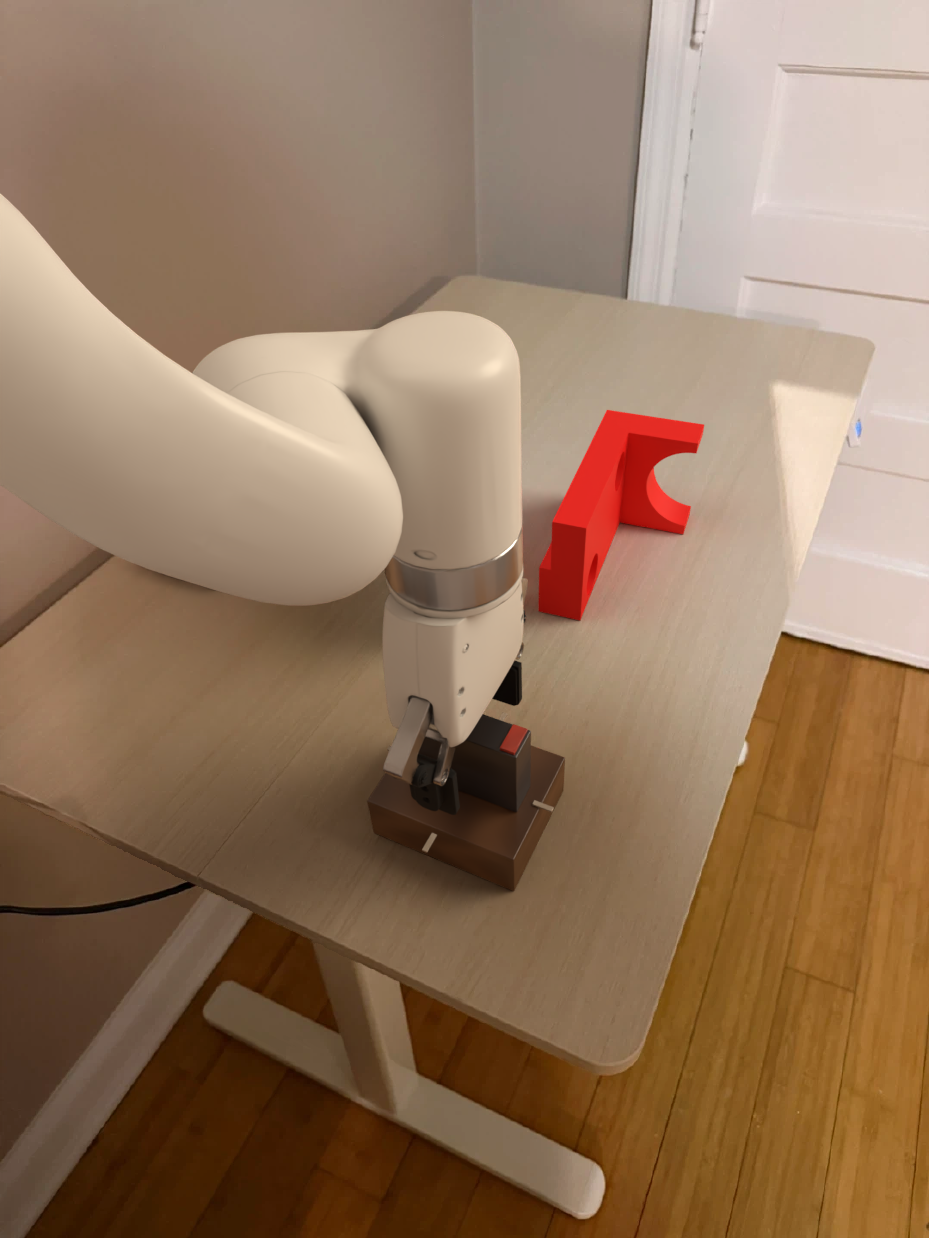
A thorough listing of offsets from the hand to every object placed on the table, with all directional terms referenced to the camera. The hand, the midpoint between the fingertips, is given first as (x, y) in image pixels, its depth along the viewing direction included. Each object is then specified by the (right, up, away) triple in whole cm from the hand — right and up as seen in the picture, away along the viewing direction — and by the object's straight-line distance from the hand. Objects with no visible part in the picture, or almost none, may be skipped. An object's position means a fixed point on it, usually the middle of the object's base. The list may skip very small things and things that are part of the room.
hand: (469, 747), depth 59 cm
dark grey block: (0, -2, +2) cm, 3 cm away
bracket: (+14, +14, +25) cm, 32 cm away
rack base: (0, -5, +5) cm, 7 cm away
